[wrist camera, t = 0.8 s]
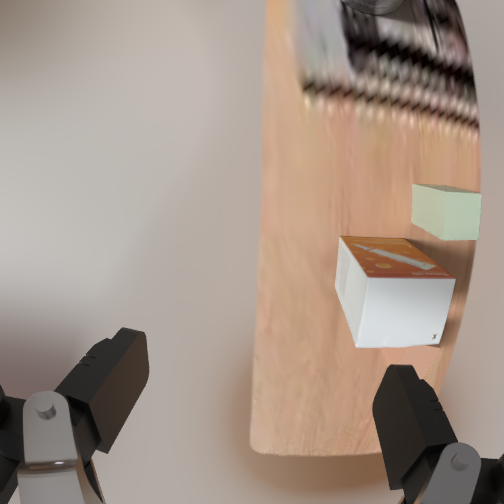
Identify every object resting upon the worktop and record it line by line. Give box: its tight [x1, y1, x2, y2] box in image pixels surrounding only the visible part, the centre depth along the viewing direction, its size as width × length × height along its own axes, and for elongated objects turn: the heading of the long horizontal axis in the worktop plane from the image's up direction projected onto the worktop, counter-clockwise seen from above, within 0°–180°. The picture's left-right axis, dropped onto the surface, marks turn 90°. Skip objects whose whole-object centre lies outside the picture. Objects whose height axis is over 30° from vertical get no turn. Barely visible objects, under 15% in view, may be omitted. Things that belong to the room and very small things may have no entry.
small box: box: [335, 236, 456, 348], centre depth 28 cm, size 8×6×13 cm
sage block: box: [411, 184, 482, 240], centre depth 28 cm, size 4×4×8 cm
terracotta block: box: [379, 344, 441, 379], centre depth 32 cm, size 4×4×8 cm
